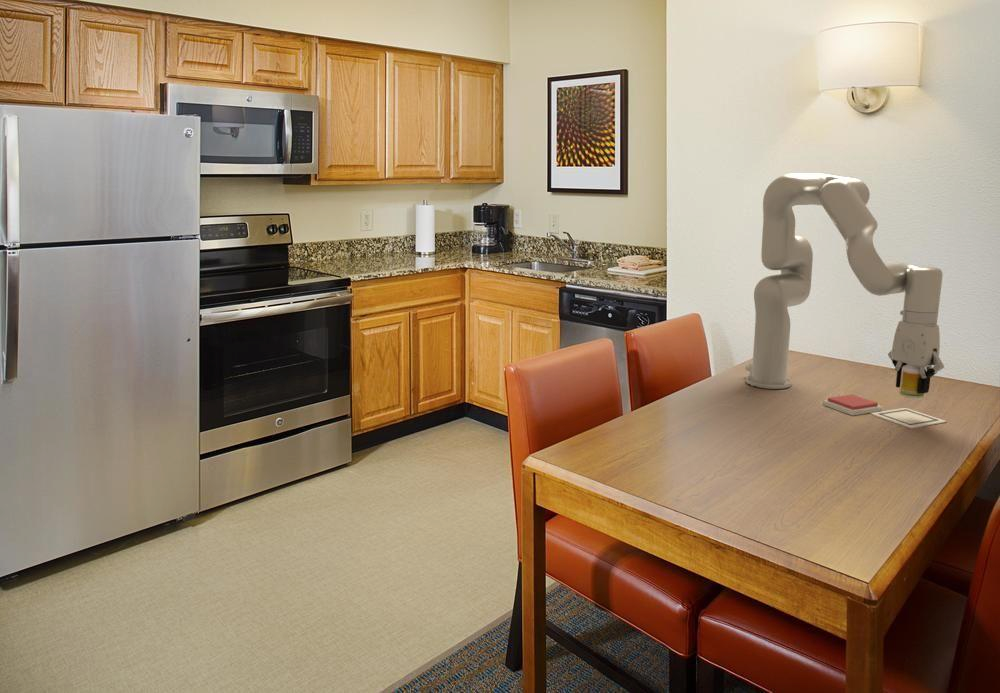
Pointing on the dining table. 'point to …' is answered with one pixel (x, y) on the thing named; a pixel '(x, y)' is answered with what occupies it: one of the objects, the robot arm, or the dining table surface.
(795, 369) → the dining table surface
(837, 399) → the ink pad
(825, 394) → the dining table surface
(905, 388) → the supplement bottle
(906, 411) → the marked sheet
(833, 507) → the dining table surface
